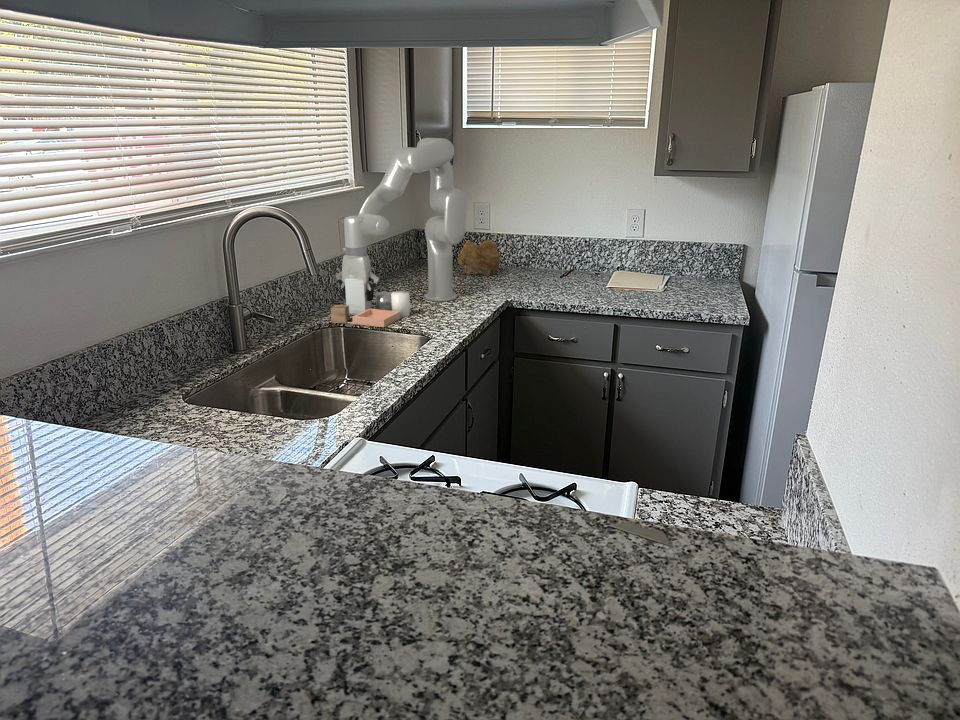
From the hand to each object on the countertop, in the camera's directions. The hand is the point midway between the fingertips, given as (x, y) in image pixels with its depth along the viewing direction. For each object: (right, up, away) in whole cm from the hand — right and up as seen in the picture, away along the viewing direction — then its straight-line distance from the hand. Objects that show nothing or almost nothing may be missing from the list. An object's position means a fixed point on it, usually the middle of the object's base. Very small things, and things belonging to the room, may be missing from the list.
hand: (358, 299), depth 251 cm
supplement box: (0, -5, +2) cm, 5 cm away
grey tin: (+9, -3, +5) cm, 11 cm away
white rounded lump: (+16, -6, -2) cm, 17 cm away
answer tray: (+8, -8, -10) cm, 16 cm away
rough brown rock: (+45, +17, +68) cm, 83 cm away
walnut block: (-4, -8, -10) cm, 14 cm away
